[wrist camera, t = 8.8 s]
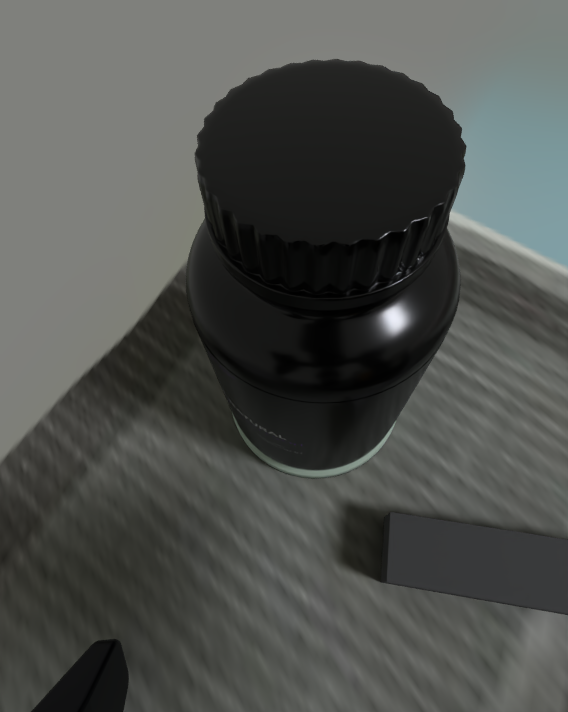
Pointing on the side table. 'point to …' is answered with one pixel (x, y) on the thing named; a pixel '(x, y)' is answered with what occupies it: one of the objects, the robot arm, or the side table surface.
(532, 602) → the dark grey slat
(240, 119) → the supplement bottle
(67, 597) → the side table surface
